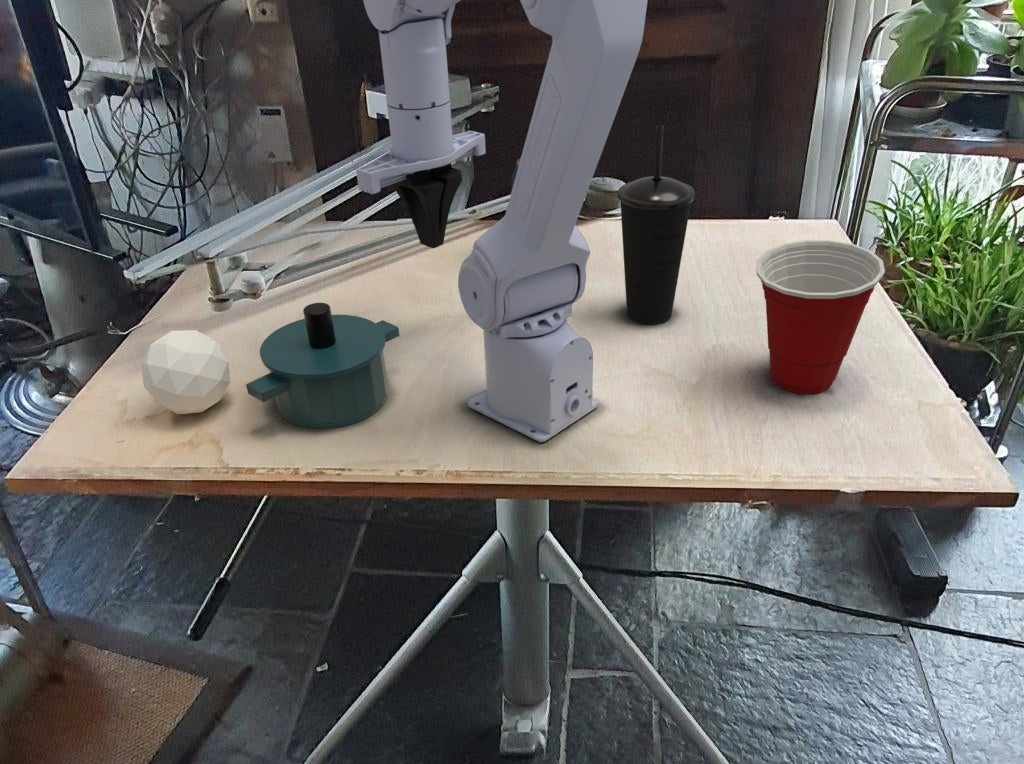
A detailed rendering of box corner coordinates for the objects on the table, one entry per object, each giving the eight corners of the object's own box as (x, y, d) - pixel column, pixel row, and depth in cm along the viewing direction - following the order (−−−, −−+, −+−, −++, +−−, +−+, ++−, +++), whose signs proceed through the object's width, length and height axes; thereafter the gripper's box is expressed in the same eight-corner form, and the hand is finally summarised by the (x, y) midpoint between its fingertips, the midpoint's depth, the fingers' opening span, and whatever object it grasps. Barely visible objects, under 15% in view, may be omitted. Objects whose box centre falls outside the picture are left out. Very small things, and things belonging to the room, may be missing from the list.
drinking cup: (665, 294, 101) (677, 111, 89) (697, 323, 95) (715, 131, 83) (602, 305, 99) (607, 120, 87) (631, 336, 93) (640, 142, 81)
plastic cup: (719, 364, 88) (732, 249, 81) (813, 342, 90) (833, 230, 84) (783, 420, 79) (803, 297, 72) (884, 395, 82) (913, 274, 75)
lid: (411, 348, 82) (406, 303, 80) (311, 399, 76) (302, 352, 73) (335, 313, 89) (328, 270, 86) (237, 357, 82) (226, 312, 80)
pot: (430, 382, 87) (425, 332, 84) (297, 455, 78) (286, 402, 75) (363, 349, 93) (356, 301, 90) (232, 413, 84) (219, 362, 80)
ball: (181, 437, 86) (110, 384, 82) (224, 374, 89) (158, 321, 85) (216, 426, 80) (141, 369, 76) (261, 360, 84) (192, 302, 80)
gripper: (446, 79, 87) (456, 213, 95) (327, 112, 79) (349, 257, 87) (498, 89, 83) (504, 229, 91) (378, 126, 75) (396, 276, 83)
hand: (431, 244), depth 88 cm, fingers closed
